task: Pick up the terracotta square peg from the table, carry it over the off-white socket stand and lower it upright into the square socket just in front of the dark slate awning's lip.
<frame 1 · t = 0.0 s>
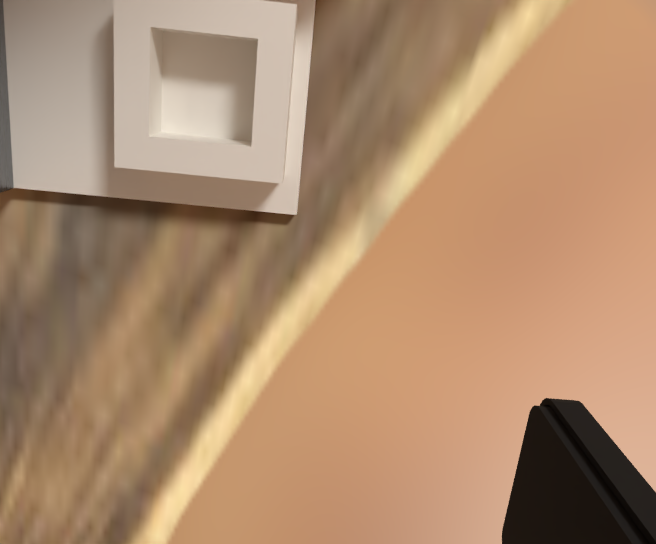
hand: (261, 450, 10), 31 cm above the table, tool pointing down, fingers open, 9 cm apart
socket stand: (150, 80, 38), on the table
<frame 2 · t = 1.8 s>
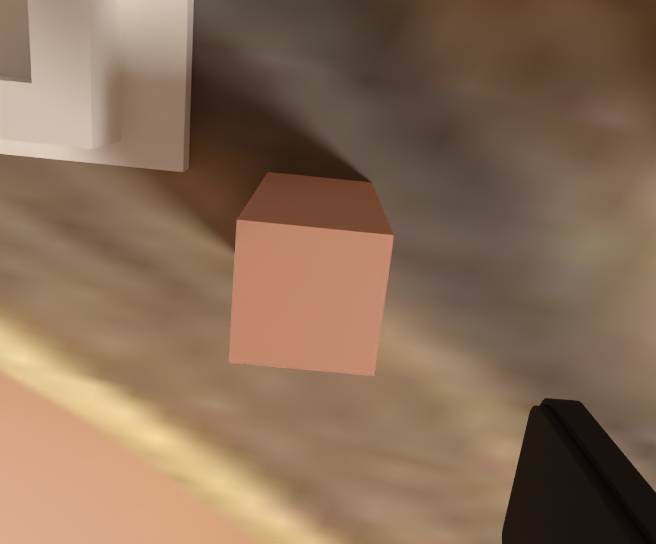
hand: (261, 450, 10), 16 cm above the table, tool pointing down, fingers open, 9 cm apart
peg: (314, 227, 26), on the table
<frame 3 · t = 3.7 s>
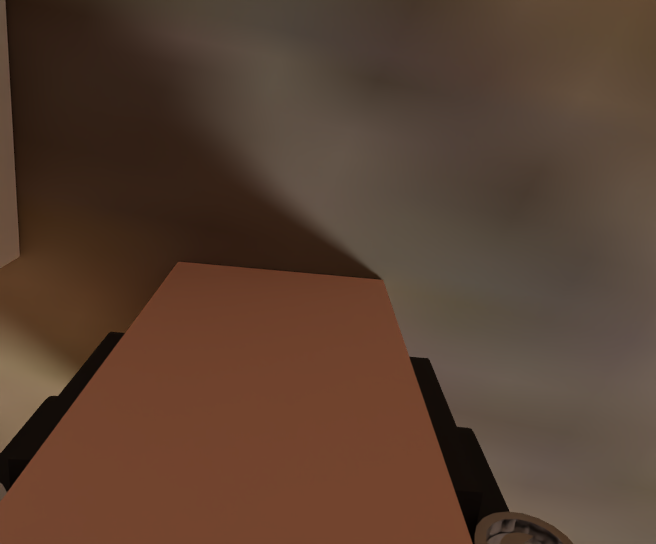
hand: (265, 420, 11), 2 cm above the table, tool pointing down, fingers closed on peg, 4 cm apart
peg: (273, 363, 14), on the table, touching gripper
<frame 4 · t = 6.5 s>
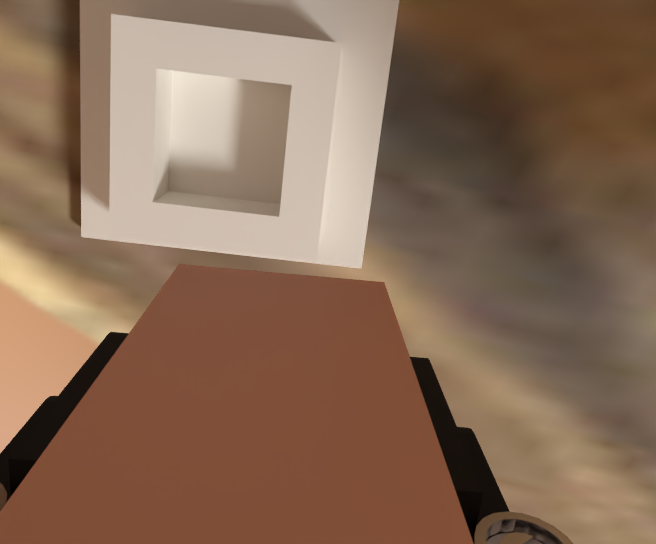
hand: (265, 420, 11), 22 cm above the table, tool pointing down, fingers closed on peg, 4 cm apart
peg: (275, 365, 14), point 20 cm above the table, touching gripper
socket stand: (238, 56, 30), on the table
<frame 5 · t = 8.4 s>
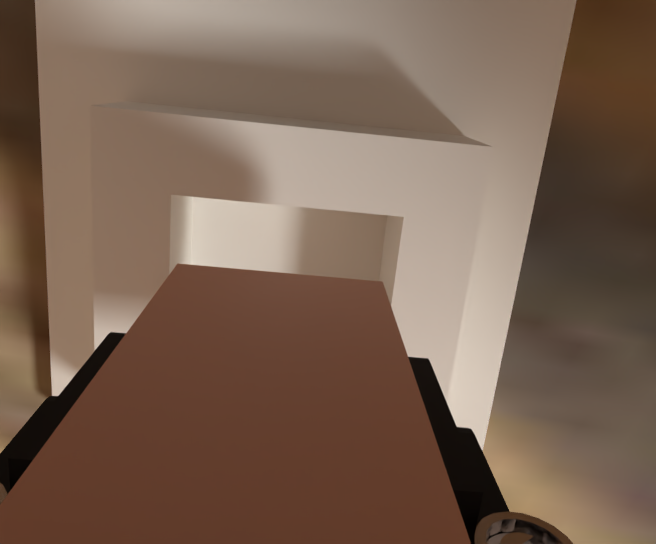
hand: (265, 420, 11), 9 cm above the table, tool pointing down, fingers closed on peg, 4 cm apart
peg: (273, 364, 14), point 7 cm above the table, touching gripper
socket stand: (296, 149, 19), on the table
when the fingers open (5 cm above the table, at t = 9.6 s): peg drops 2 cm, resting on socket stand.
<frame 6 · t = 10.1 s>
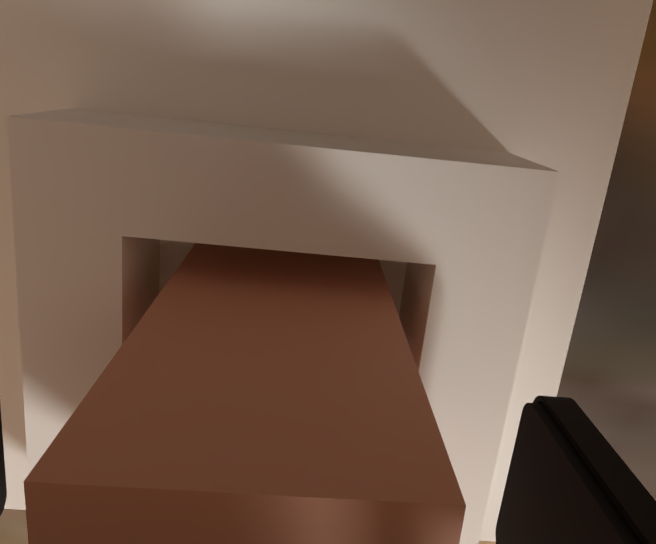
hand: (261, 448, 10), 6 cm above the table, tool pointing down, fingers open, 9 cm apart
peg: (281, 332, 15), point 1 cm above the table, touching socket stand
socket stand: (292, 168, 15), on the table
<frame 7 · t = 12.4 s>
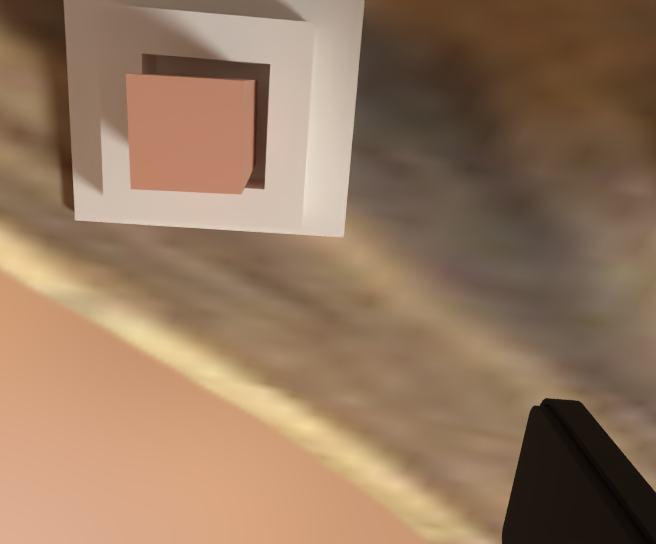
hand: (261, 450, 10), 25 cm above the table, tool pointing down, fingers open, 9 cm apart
peg: (215, 120, 32), point 1 cm above the table, touching socket stand
socket stand: (217, 40, 32), on the table
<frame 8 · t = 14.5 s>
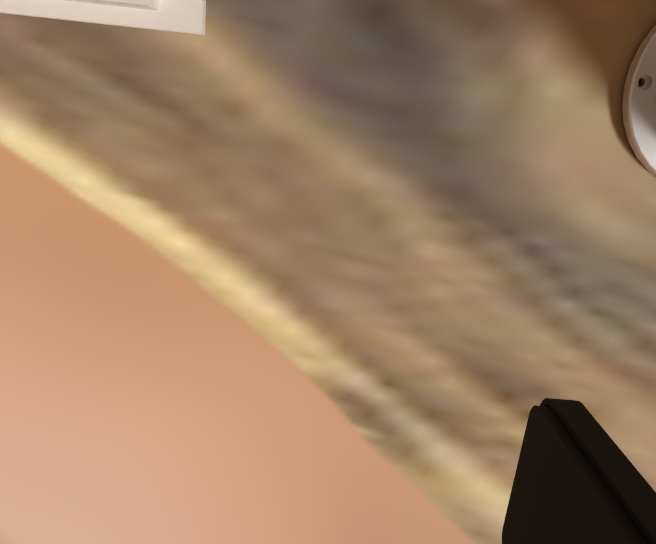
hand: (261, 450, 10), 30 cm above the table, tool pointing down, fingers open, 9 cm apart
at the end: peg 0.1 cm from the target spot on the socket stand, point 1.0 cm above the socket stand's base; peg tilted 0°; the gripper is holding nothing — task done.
